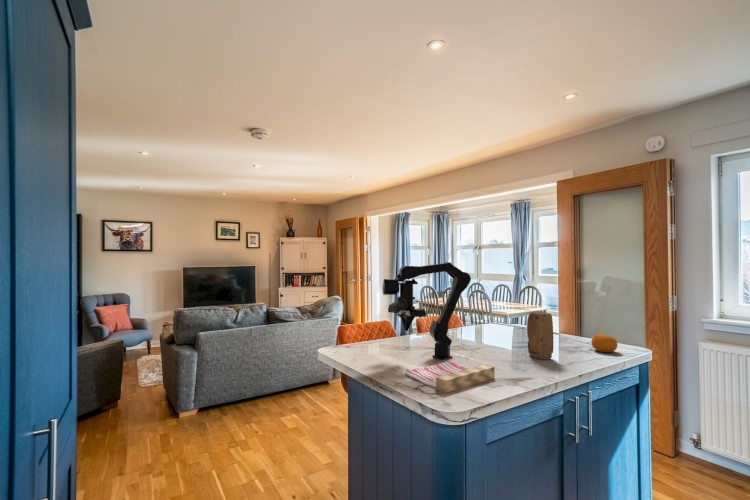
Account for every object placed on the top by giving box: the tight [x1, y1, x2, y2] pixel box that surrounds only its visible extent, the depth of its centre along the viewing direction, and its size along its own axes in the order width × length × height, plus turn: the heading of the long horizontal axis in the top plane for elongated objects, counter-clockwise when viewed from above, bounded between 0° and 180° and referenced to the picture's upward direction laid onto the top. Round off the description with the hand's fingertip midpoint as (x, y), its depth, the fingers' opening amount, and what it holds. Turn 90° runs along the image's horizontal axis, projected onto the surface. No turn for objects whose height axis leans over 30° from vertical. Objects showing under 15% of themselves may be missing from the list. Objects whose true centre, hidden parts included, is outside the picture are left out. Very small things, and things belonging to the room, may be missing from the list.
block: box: [526, 310, 554, 361], centre depth 166 cm, size 11×8×20 cm
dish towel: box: [404, 360, 471, 389], centre depth 139 cm, size 17×23×4 cm
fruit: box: [591, 333, 618, 353], centre depth 177 cm, size 10×10×8 cm
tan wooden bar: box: [435, 364, 496, 394], centre depth 130 cm, size 26×4×4 cm, turn 127°
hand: (406, 330), depth 163 cm, fingers closed
